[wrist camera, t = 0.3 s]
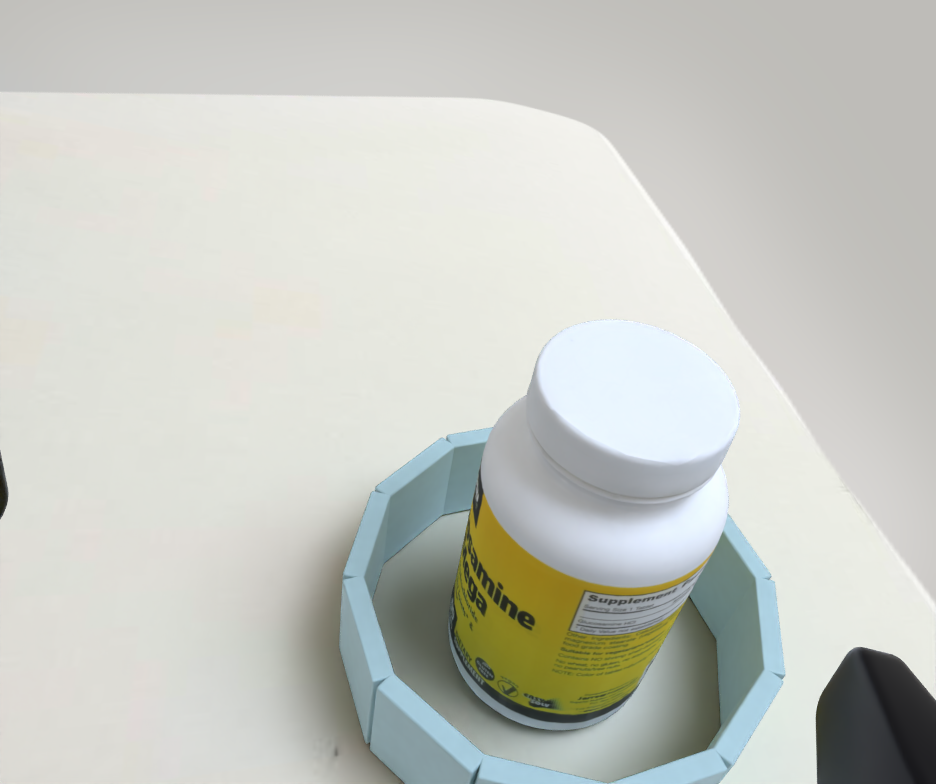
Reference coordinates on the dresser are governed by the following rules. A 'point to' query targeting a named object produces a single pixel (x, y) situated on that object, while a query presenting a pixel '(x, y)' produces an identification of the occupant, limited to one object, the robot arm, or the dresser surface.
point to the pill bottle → (591, 522)
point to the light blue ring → (442, 746)
